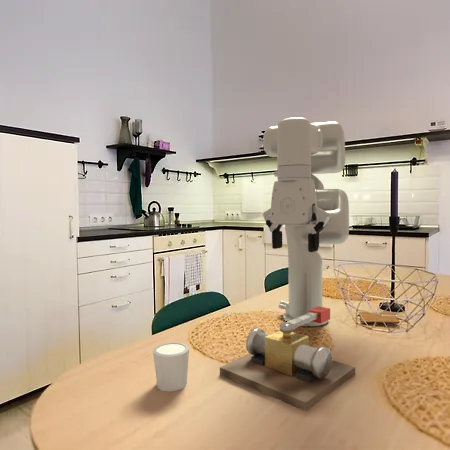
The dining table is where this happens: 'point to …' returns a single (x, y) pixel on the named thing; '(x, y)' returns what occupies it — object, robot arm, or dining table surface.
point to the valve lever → (306, 319)
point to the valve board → (286, 381)
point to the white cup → (171, 366)
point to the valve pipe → (289, 354)
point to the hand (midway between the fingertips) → (294, 249)
